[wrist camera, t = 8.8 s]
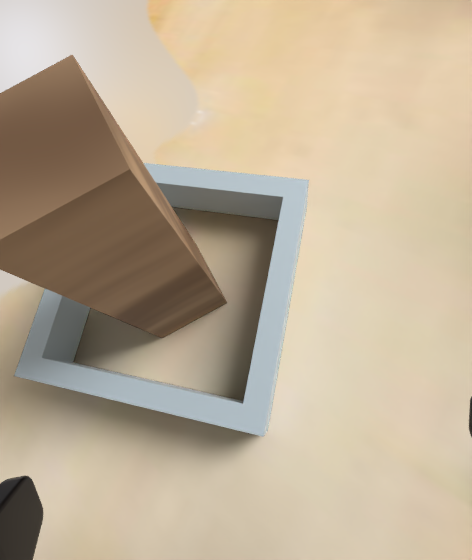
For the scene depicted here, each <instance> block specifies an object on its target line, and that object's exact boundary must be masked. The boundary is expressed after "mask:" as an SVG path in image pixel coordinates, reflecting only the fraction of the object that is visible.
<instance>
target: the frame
mask: <svg viewBox="0 0 472 560" xmlns="http://www.w3.org/2000/svg"><path fill="white" fill-rule="evenodd" d="M143 164H144V165H145V167H146V168H147V170H148V171H149V173H150V174H151V176H152V177H153V179H154V181H155V182H156V184H157V185H158V187H159V188H160V190H161V191H162V193H163V194H164V196H165V197H166V199H167V200H168V202H169V204H170V205H171V207H177V208H185V209H193V210H201V211H209V212H217V213H225V214H233V215H241V216H249V217H257V218H265V219H273V220H279V221H278V226H277V232H276V237H275V242H274V247H273V252H272V257H271V263H270V268H269V273H268V278H267V283H266V288H265V293H264V299H263V304H262V309H261V314H260V319H259V324H258V329H257V335H256V340H255V345H254V350H253V355H252V360H251V366H250V371H249V376H248V381H247V386H246V391H245V396H244V401H242V400H237V399H233V398H228V397H224V396H219V395H215V394H211V393H206V392H202V391H197V390H193V389H189V388H184V387H180V386H175V385H171V384H167V383H162V382H158V381H153V380H149V379H144V378H140V377H136V376H131V375H127V374H122V373H118V372H114V371H109V370H105V369H100V368H96V367H91V366H87V365H83V364H78V363H74V362H73V361H74V358H75V355H76V352H77V348H78V345H79V342H80V339H81V336H82V333H83V329H84V326H85V323H86V320H87V317H88V314H89V311H90V307H88V306H85V305H83V304H81V303H78V302H76V301H74V300H71V299H69V298H66V297H64V296H62V295H59V294H57V293H55V292H52V291H50V290H48V289H45V290H44V293H43V296H42V298H41V301H40V304H39V307H38V310H37V313H36V315H35V318H34V321H33V324H32V327H31V330H30V332H29V335H28V338H27V341H26V344H25V346H24V349H23V352H22V355H21V358H20V361H19V363H18V366H17V369H16V372H15V375H14V376H16V377H20V378H24V379H29V380H33V381H37V382H41V383H45V384H49V385H53V386H57V387H61V388H66V389H70V390H74V391H78V392H82V393H86V394H90V395H94V396H98V397H103V398H107V399H111V400H115V401H119V402H123V403H127V404H131V405H135V406H139V407H144V408H148V409H152V410H156V411H160V412H164V413H168V414H172V415H176V416H181V417H185V418H189V419H193V420H197V421H201V422H205V423H209V424H213V425H218V426H222V427H226V428H230V429H234V430H238V431H242V432H246V433H250V434H255V435H259V436H264V435H265V434H266V432H267V431H268V426H269V420H270V414H271V409H272V403H273V397H274V391H275V386H276V380H277V374H278V369H279V363H280V357H281V351H282V346H283V340H284V334H285V328H286V323H287V317H288V311H289V305H290V300H291V294H292V288H293V283H294V277H295V271H296V265H297V260H298V254H299V248H300V242H301V237H302V231H303V225H304V220H305V214H306V208H307V197H308V183H309V180H304V179H294V178H284V177H275V176H265V175H255V174H245V173H236V172H226V171H216V170H206V169H197V168H187V167H177V166H167V165H158V164H148V163H143Z"/></svg>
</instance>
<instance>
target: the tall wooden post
mask: <svg viewBox="0 0 472 560" xmlns="http://www.w3.org/2000/svg"><path fill="white" fill-rule="evenodd" d="M0 269H1V270H3V271H5V272H8V273H10V274H12V275H15V276H17V277H19V278H22V279H24V280H26V281H29V282H31V283H33V284H36V285H38V286H41V287H43V288H45V289H48V290H50V291H52V292H55V293H57V294H59V295H62V296H64V297H66V298H69V299H71V300H74V301H76V302H78V303H81V304H83V305H85V306H88V307H90V308H92V309H95V310H97V311H99V312H102V313H104V314H107V315H109V316H111V317H114V318H116V319H118V320H121V321H123V322H125V323H128V324H130V325H132V326H135V327H137V328H140V329H142V330H144V331H147V332H149V333H151V334H154V335H156V336H158V337H161V338H164V337H166V336H167V335H169V334H171V333H173V332H175V331H177V330H178V329H180V328H182V327H184V326H186V325H187V324H189V323H191V322H193V321H195V320H197V319H198V318H200V317H202V316H204V315H206V314H207V313H209V312H211V311H213V310H215V309H217V308H218V307H220V306H222V305H224V304H226V303H227V301H226V300H225V298H224V296H223V294H222V292H221V290H220V288H219V286H218V285H217V283H216V281H215V279H214V277H213V275H212V273H211V271H210V270H209V268H208V266H207V264H206V262H205V260H204V258H203V256H202V255H201V253H200V251H199V249H198V247H197V245H196V243H195V242H194V240H193V239H192V237H191V236H190V234H189V233H188V231H187V230H186V228H185V227H184V225H183V223H182V222H181V220H180V219H179V217H178V216H177V214H176V213H175V211H174V210H173V208H172V207H171V205H170V204H169V202H168V200H167V199H166V197H165V196H164V194H163V193H162V191H161V190H160V188H159V187H158V185H157V184H156V182H155V181H154V179H153V177H152V176H151V174H150V173H149V171H148V170H147V168H146V167H145V165H144V164H143V162H142V161H141V159H140V157H139V156H138V155H137V153H136V151H135V150H134V148H133V147H132V145H131V144H130V142H129V141H128V139H127V138H126V136H125V135H124V133H123V132H122V130H121V128H120V127H119V125H118V124H117V123H116V121H115V119H114V118H113V116H112V115H111V113H110V111H109V110H108V109H107V107H106V105H105V104H104V102H103V101H102V99H101V98H100V96H99V95H98V93H97V92H96V90H95V89H94V87H93V85H92V84H91V82H90V81H89V80H88V78H87V76H86V75H85V73H84V72H83V70H82V69H81V67H80V65H79V64H78V62H77V61H76V59H75V58H74V56H73V55H71V56H69V57H67V58H65V59H63V60H62V61H60V62H58V63H56V64H54V65H52V66H50V67H48V68H47V69H45V70H43V71H41V72H39V73H37V74H36V75H33V76H32V77H30V78H28V79H26V80H25V81H22V82H20V83H19V84H17V85H15V86H13V87H11V88H10V89H8V90H6V91H4V92H2V93H0Z"/></svg>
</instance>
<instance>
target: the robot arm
mask: <svg viewBox="0 0 472 560" xmlns="http://www.w3.org/2000/svg"><path fill="white" fill-rule="evenodd" d="M469 431H470V434H471V436H472V397H471V399H470V414H469ZM42 521H43V507H42V504H41V501H40V499H39V496H38V493H37V491H36V488H35V486H34V483H33V481H32V479H31V478H30V477H29V476H21V477H15V478H10V479H7V480H5V481H3V482H2V483H1V484H0V560H33V556H34V552H35V548H36V544H37V541H38V537H39V533H40V529H41V525H42Z"/></svg>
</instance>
